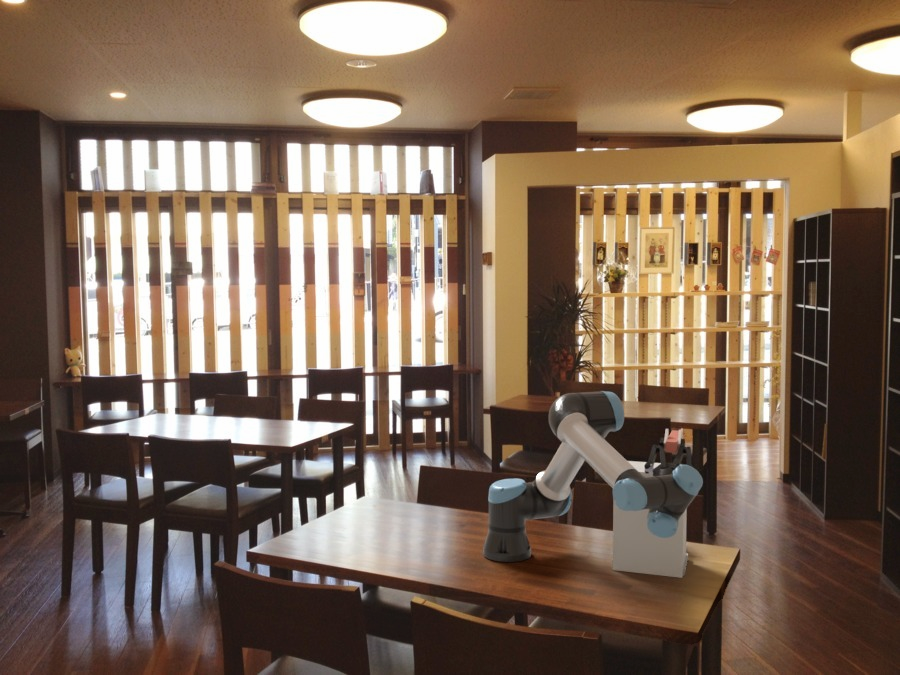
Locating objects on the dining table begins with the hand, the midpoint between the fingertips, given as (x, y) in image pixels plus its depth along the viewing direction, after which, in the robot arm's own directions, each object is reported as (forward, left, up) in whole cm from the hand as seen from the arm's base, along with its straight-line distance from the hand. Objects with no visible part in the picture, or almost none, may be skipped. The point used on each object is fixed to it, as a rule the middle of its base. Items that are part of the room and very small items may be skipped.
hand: (673, 432), depth 231 cm
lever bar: (-1, +2, -4) cm, 5 cm away
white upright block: (-11, +2, -42) cm, 44 cm away
